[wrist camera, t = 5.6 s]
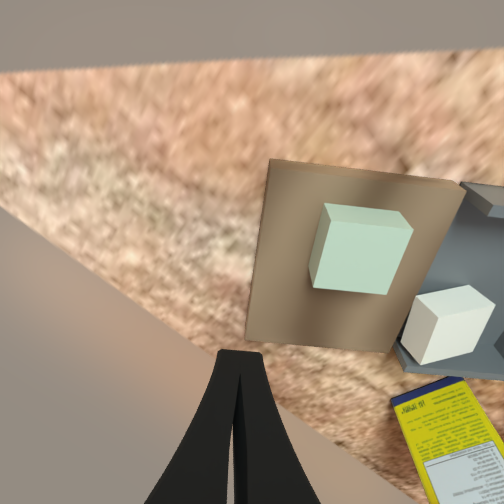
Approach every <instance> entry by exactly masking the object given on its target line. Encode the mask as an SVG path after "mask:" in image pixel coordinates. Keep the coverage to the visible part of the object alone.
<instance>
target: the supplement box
mask: <svg viewBox="0 0 504 504" xmlns="http://www.w3.org/2000/svg"><path fill="white" fill-rule="evenodd" d="M391 402H392V405H393V408H394V411H395V413H396V416H397V419H398V421H399V424H400V427H401V430H402V432H403V435H404V437H405V440H406V443H407V445H408V448H409V451H410V453H411V456H412V459H413V461H414V464H415V467H416V469H417V472H418V475H419V477H420V480H421V483H422V485H423V488H424V491H425V493H426V496H427V499H428V501H429V504H504V443H503V441H502V439H501V438H500V436H499V434H498V433H497V431H496V430H495V428H494V426H493V425H492V423H491V421H490V420H489V418H488V417H487V415H486V413H485V412H484V410H483V409H482V407H481V406H480V404H479V402H478V401H477V399H476V398H475V396H474V394H473V393H472V391H471V390H470V388H469V386H468V385H467V383H466V382H465V380H464V379H463V377H455V376H450V377H447V378H445V379H442V380H440V381H437V382H435V383H432V384H429V385H427V386H424V387H422V388H419V389H416V390H414V391H411V392H409V393H406V394H404V395H401V396H398V397H395V398H392V399H391Z"/></svg>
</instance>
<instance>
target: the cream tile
mask: <svg viewBox="0 0 504 504" xmlns="http://www.w3.org/2000/svg"><path fill="white" fill-rule="evenodd" d="M494 307H495V304H494V303H493V302H491V301H490V300H489V299H487V298H486V297H485V296H483V295H482V294H481V293H479V292H478V291H477V290H475V289H474V288H473V287H471V286H470V285H466V286H461V287H456V288H451V289H446V290H441V291H436V292H431V293H427V294H422V295H417V296H415V299H414V302H413V305H412V308H411V311H410V314H409V317H408V320H407V323H406V326H405V329H404V333H403V336H402V339H401V343H402V344H403V346H404V347H405V348H406V349H407V350H408V352H409V353H410V354H411V355H412V356H413V357H414V359H415V360H416V361H417V362H418V363H419V364H420V365H423V364H427V363H431V362H435V361H439V360H443V359H447V358H450V357H454V356H458V355H462V354H466V353H470V352H473V350H474V348H475V346H476V344H477V342H478V340H479V338H480V336H481V334H482V332H483V330H484V328H485V326H486V324H487V321H488V319H489V317H490V315H491V313H492V311H493V309H494Z"/></svg>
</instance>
